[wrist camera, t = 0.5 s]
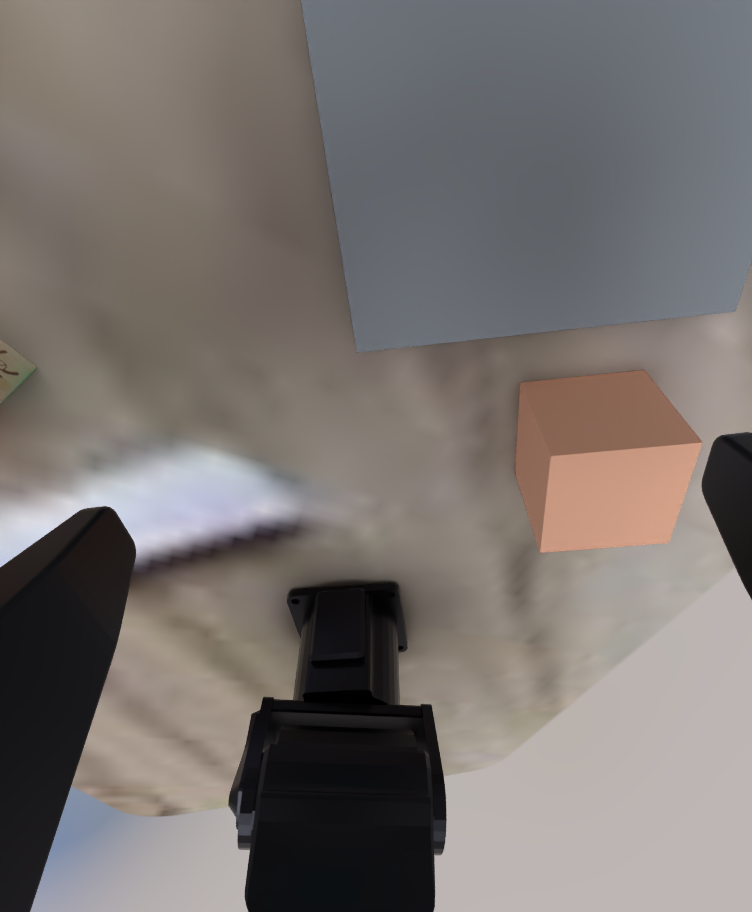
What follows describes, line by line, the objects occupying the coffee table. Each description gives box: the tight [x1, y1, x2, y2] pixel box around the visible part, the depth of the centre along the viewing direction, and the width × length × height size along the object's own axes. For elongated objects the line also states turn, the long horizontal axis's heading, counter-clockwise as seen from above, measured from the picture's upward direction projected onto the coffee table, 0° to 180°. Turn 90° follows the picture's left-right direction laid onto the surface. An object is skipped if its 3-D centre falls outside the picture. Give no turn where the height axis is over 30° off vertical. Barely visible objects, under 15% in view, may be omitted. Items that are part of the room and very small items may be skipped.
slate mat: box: [301, 0, 752, 353], centre depth 16 cm, size 14×14×1 cm
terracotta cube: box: [515, 370, 703, 553], centre depth 21 cm, size 5×5×5 cm
